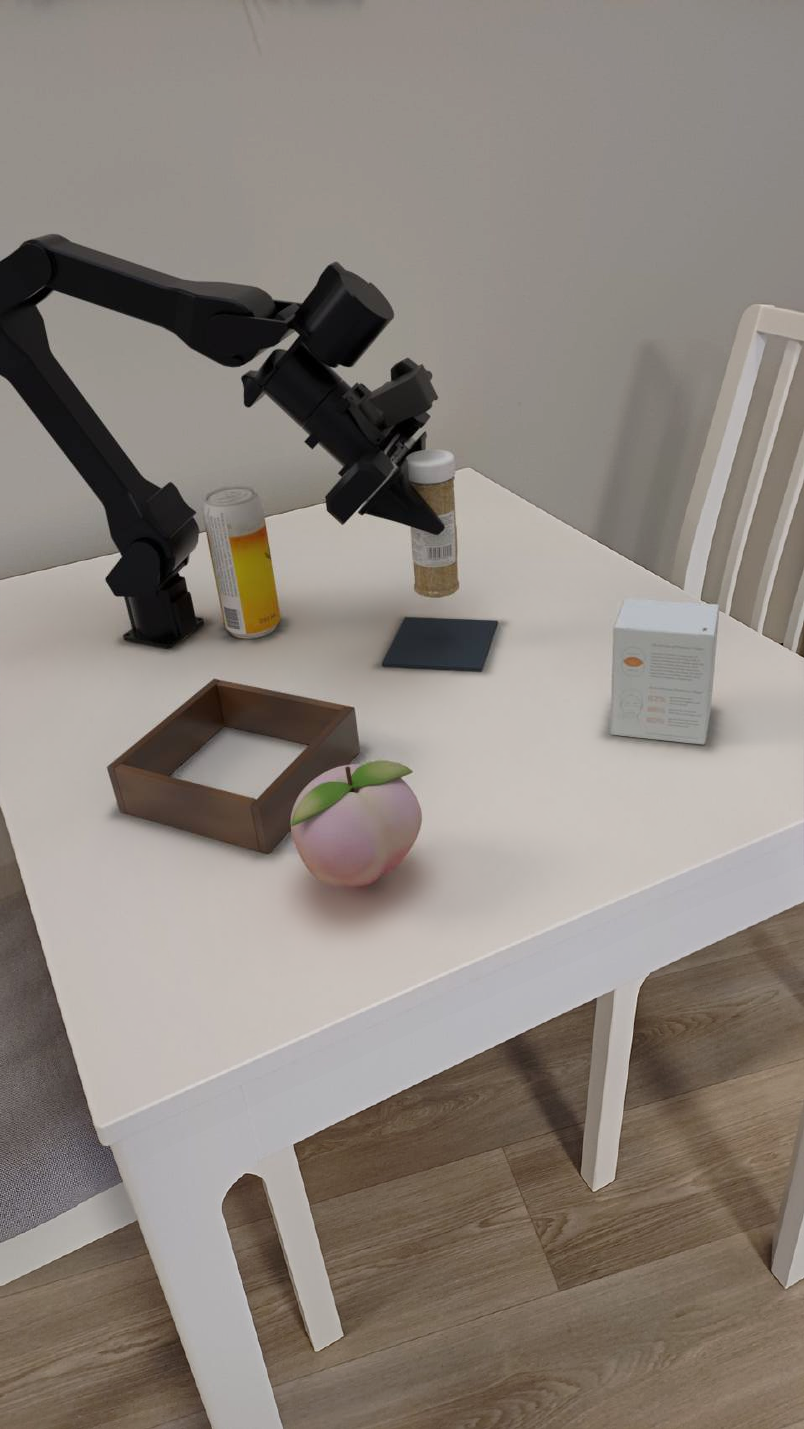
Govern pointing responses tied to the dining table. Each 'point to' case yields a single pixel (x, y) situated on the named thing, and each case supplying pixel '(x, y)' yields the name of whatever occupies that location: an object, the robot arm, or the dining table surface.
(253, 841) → the walnut box
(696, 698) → the small box
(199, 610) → the dining table surface
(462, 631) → the slate mat
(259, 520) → the beer can
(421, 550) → the sprinkles bottle
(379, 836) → the decorative fruit
